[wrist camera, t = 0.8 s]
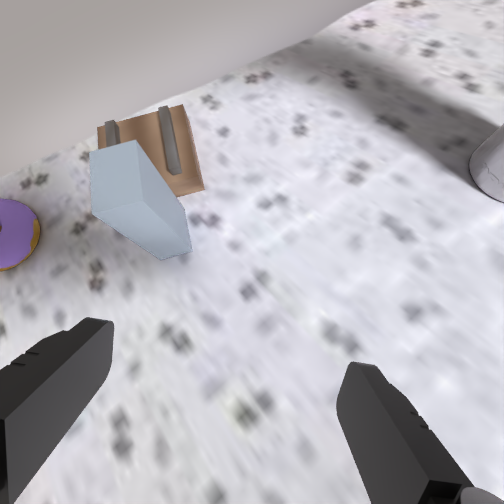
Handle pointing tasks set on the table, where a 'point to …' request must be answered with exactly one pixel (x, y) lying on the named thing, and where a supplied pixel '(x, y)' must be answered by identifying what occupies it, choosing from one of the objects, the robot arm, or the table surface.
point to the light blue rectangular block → (137, 200)
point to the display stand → (161, 145)
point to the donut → (16, 233)
